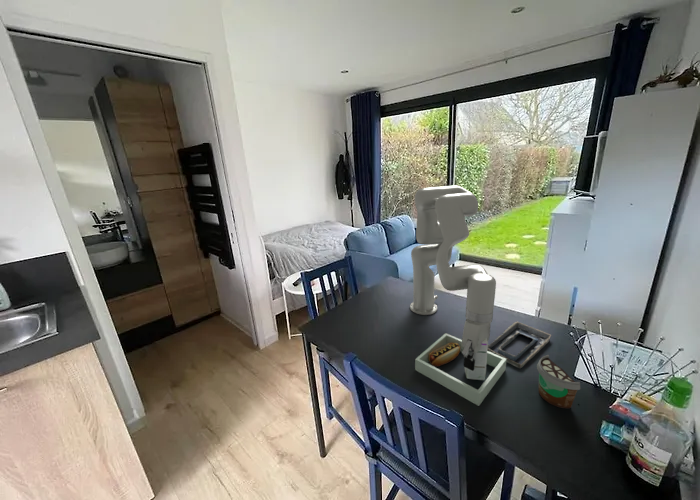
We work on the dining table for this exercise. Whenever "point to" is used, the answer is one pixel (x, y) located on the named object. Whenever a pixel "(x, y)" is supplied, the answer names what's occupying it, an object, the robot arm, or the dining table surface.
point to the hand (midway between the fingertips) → (475, 361)
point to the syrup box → (478, 363)
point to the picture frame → (512, 337)
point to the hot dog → (444, 354)
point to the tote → (454, 383)
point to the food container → (556, 384)
